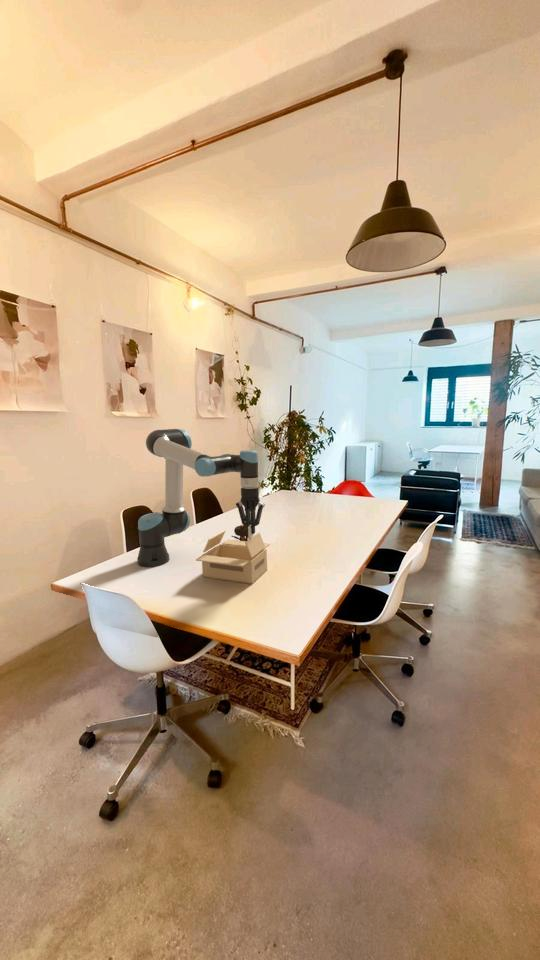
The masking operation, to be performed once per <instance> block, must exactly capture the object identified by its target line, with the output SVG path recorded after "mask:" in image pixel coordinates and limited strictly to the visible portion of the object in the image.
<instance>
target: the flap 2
mask: <svg viewBox="0 0 540 960" xmlns="http://www.w3.org/2000/svg"><path fill="white" fill-rule="evenodd" d="M245 544H246V547H247V549H248V552H249V554H250V557H251V558H252V557H254V556H255V555H256V554H257V553H259V552H260V551H261V550H262V549H264V548H265V545H264V541H263V537H262V535H261V532H258V533H255V535H253V537H252V538H250V539H249V540H247V541H246V542H245ZM265 549H266V548H265Z"/></svg>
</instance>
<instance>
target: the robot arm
mask: <svg viewBox="0 0 540 960" xmlns="http://www.w3.org/2000/svg"><path fill="white" fill-rule="evenodd" d="M192 443H193V442H192V438H191V436H190V434H189V433H188V432H187V431H186V430H185V429H182V428H170V429H169V428H168V429H157V430H156V429H155V430H153V431H151V432H150V433H149V434H148V435H147V437H146V439H145V447H146V449H147V450H148V452H149V453H151V454H152V455H153V456H157V457H158V458H163V459H164V460H165V477H164V478H165V479H164V480H165V481H164V482H165V486H164V487H165V490H164V491H165V494H164V495H165V496H164V497H165V504H164V506H163V507H162V509H161V512H152V513H151V512H150V513H146V514H144V515H142V516H140V517H139V519H138V521H137V525H138V526H137V530H138V538H139V539H138V540H139V551H138V555H137V559H136V563H137V565H138V566H139V567H145V568H146V567H158V566H161V565H165V564H166V563H168V562H169V561H170V553H169V552H168V550H167V548H166V544H165V538H168V537H170V536H174V535H178V534H181V533H183V532H185V531H187V530H188V529H189V528H190V527H189V526H190V524H191V516H190V515H189V514H190V513H189V512H188V510H187V509H186V506H184V505H183V503H184V502H183V498H184V497H183V495H184V493H183V492H184V489H183V488H184V466H185V467H187V468H191V469H192V470H195V473H196V474H197V475H198V476H199V477H202V478H203V477H207V478H208V477H211V476H217V475H220V474H221V475H222V474H226V473H240V474H239V475H240V487H241V488H240V496H241V498H240V500H239V501H238V502H236V503H235V506H236V508H237V510H238V514H239V518H240V521H241V525H246V532H247V534H248V540H249V539H250V538H252V537H253V536H254V534H256V527H257V526H259V525H260V521H261V519H262V518H261V517H262V514H263V513H262V512H263V510H264V508H265V505H266V504H265V503H262V502H261V500H260V497H259V496H260V495H259V494H260V491H259V486H260V485H259V455H258V452H257V450H253V449H252V450H249V449H248V450H241V451H240V452H239V454H230V453H227V454H226V453H225V454H224V453H223V454H221V455H217V456H216V455H215V456H210V455H207V454H205V453H202V452H200V451H197V450H195V449H192ZM257 507H258V508H257ZM256 510H257V511H256Z"/></svg>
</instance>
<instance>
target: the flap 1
mask: <svg viewBox="0 0 540 960" xmlns="http://www.w3.org/2000/svg"><path fill="white" fill-rule="evenodd" d="M225 533H226V530H225V529H224V530H222V531H220V532H219V533H217V534H215V535H213V536H211V537H210V538H208V540H207V543H206V545H205V546H204V549H203V553H206V552H208V551H209V550H211V549H213V548H214V547H216V546H218V545H219V544H221V541H222V540H223V538H224V535H225Z"/></svg>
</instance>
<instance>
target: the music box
mask: <svg viewBox="0 0 540 960" xmlns="http://www.w3.org/2000/svg"><path fill="white" fill-rule="evenodd" d="M233 531H234V534H235V535H236V536H235V535H231V537H232V538H234V539H235V540H238V541H247V540H248V534H247V532H246V525H243V524H240V525H237V526H236V527H234V529H233Z"/></svg>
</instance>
